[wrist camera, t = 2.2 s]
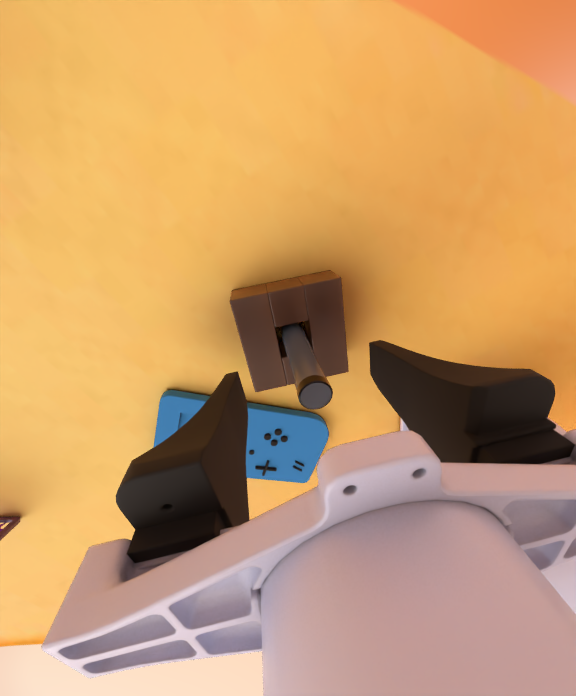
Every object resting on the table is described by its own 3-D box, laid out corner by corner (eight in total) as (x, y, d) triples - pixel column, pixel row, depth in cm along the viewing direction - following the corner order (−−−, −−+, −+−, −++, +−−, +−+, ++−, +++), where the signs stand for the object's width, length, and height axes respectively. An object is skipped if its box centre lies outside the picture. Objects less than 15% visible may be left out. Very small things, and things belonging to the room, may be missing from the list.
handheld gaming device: (307, 486, 27) (149, 472, 23) (305, 476, 28) (153, 461, 24) (337, 424, 24) (159, 396, 20) (334, 415, 25) (163, 388, 21)
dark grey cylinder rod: (298, 313, 20) (331, 377, 12) (301, 333, 21) (334, 405, 13) (277, 318, 20) (295, 385, 12) (281, 337, 21) (301, 413, 13)
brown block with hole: (330, 269, 19) (341, 277, 17) (338, 355, 22) (348, 371, 20) (231, 290, 19) (229, 300, 16) (254, 374, 22) (255, 392, 20)
